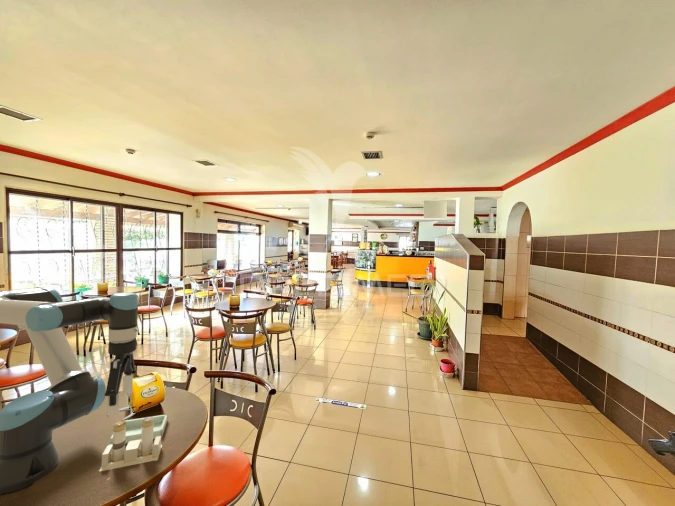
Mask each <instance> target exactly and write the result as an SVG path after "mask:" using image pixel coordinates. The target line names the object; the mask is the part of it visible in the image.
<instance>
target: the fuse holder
mask: <svg viewBox="0 0 675 506" xmlns="http://www.w3.org/2000/svg"><path fill="white" fill-rule="evenodd" d="M112 446H113V444H111V445H110V444H108V445H107V446H106V448H105V449H104V450H103V452H102V453H101V466H100V469H98V472H105V471H109V470H114V469H119V468H120V469H121V468H124V467H129V466H133V465H139V464H145V463H149V462H154V461H155V462H156V461H158V460H159V457H160V453H161V450H162V447H163V444H162V437H161V436H157V437H156V438H155V439H154V440H153V453H152V455H147V456H142V457H140V455H141V439H140V440H134V441H129V443H127V445H126V446H125V451H124V460H121V461H116V462H112Z"/></svg>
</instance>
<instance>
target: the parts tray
mask: <svg viewBox="0 0 675 506" xmlns="http://www.w3.org/2000/svg"><path fill="white" fill-rule="evenodd" d="M147 417H148V416H146V417H141V418H131V419H126V420H125V421H126V441H125V445H126V444H127V445H128V443H129V441H134V440H140V439H141V432H142V420H143V419H144V418H147ZM151 417H154V425H153V440H155V438H156V437H157V436H161V438H163V435H164V432H165V429H166V426H167V424H168V417H169V416H168V413H167V414H160V415H152V416H151ZM111 444H113V434H112V435H111V437H110V438H109V445H111Z"/></svg>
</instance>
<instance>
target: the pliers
mask: <svg viewBox="0 0 675 506" xmlns="http://www.w3.org/2000/svg"><path fill="white" fill-rule="evenodd" d="M130 409H131V408H130ZM130 409H129V406H125V407H121V408H119V412H126V411H130V412H129V415H127V416H125V417H124V418H122V419H121V421H126V420H129V418H131V417H132V416H134V415H135V414H136V413H133V410H132V411H131V410H130ZM106 416H107V417H109V416H108V414H107V415H106Z"/></svg>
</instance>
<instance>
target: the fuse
mask: <svg viewBox="0 0 675 506" xmlns="http://www.w3.org/2000/svg"><path fill="white" fill-rule="evenodd" d="M146 417H147V418H146ZM146 417H143V418H144V419H143V420H142V432H141V455H140V457H142V456H147V455H152V453H153V444H154V439H153V425H154V417H152V416H146Z"/></svg>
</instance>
